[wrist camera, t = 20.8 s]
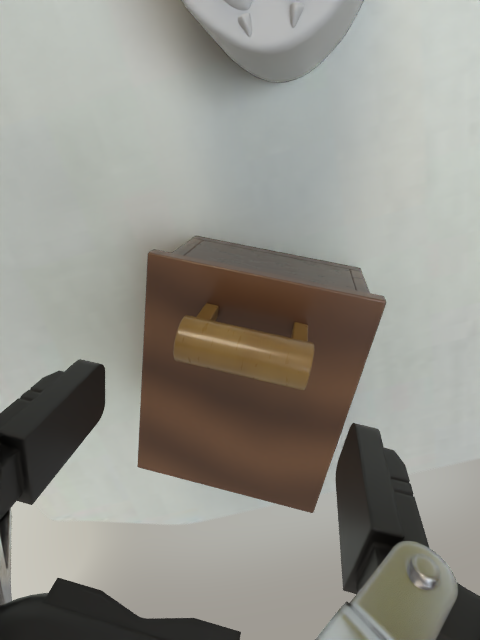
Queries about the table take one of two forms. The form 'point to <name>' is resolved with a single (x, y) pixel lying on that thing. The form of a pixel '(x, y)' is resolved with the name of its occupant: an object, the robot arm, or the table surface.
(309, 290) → the lid
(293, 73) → the lumpy-topped squat cylinder
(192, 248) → the chest
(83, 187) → the table surface
